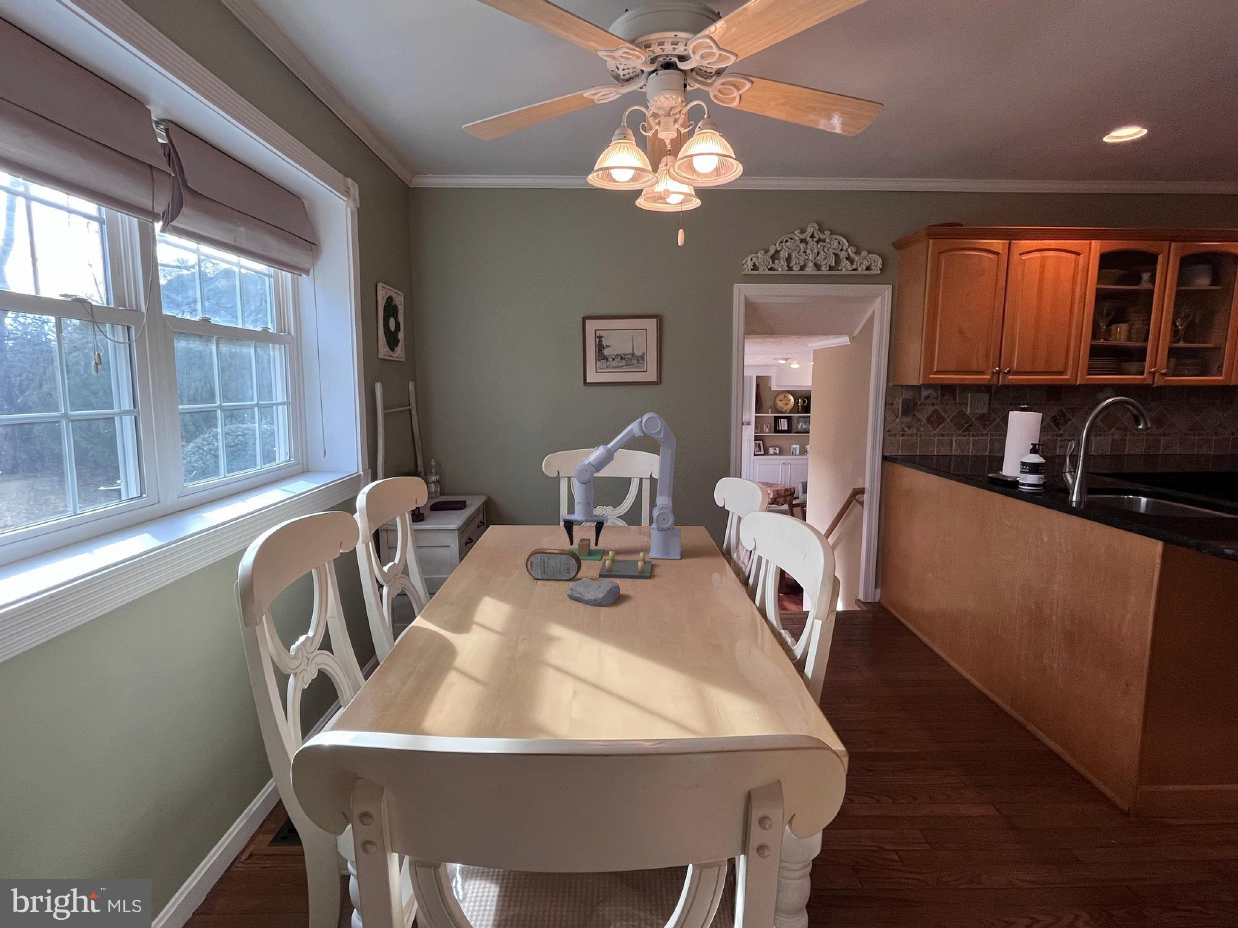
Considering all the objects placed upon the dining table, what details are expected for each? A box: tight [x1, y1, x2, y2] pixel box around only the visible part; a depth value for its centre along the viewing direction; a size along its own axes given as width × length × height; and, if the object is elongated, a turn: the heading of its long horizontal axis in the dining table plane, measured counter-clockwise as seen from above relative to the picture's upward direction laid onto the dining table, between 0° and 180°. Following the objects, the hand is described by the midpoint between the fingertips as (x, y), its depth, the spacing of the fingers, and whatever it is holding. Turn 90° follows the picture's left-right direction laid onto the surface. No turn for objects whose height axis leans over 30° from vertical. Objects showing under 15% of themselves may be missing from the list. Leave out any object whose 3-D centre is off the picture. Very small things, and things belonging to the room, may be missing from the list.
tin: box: [525, 547, 582, 582], centre depth 165 cm, size 15×3×8 cm, turn 84°
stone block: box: [566, 577, 621, 607], centre depth 152 cm, size 12×5×10 cm
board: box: [568, 537, 605, 562], centre depth 189 cm, size 11×11×5 cm
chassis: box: [598, 550, 653, 580], centre depth 174 cm, size 14×14×4 cm
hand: (584, 545), depth 188 cm, fingers open, 7 cm apart
